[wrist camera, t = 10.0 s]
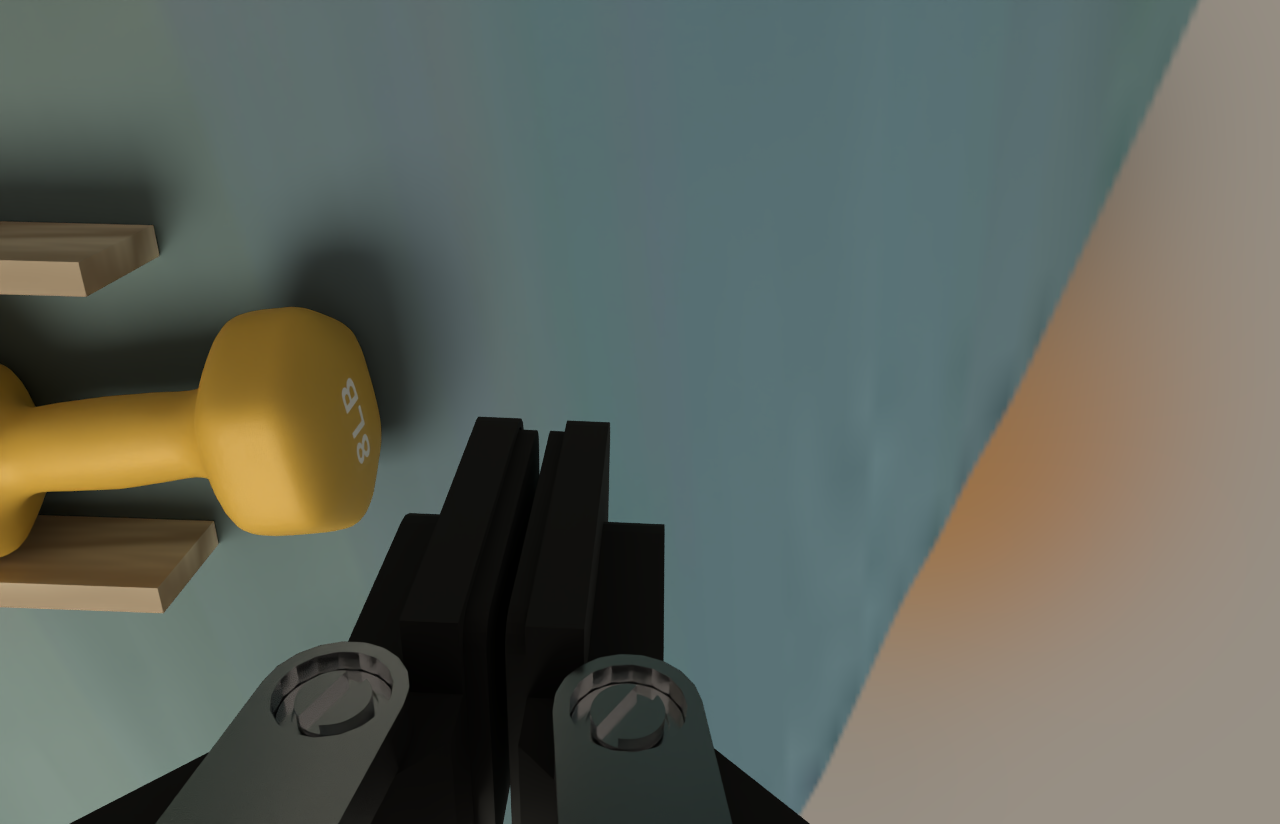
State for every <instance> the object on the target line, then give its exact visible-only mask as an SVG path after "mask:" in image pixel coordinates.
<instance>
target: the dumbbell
mask: <svg viewBox="0 0 1280 824" xmlns="http://www.w3.org/2000/svg"><path fill="white" fill-rule="evenodd" d="M380 448H381V422H380V415H379V410H378V405H377V401H376V397H375V393H374V389H373V386H372V382H371V378H370V375H369V371H368V368H367V365H366V361H365V358H364V355H363V352H362V349H361V347H360V345H359V343H358V341H357V339H356V337H355V335H354V334H353V332H352V331H351V330H350V329H349V328H348V327H347V326H345V325H344V324H343V323H341V322H339V321H338V320H336V319H333V318H331V317H329V316H326V315H324V314H321V313H319V312H316V311H313V310H310V309H307V308H301V307H283V308H272V309H263V310H257V311H251V312H247V313H244V314H241V315H238V316H236V317H234V318H233V319H231V320H229V321H228V322H227V323H226V324H225V325H224V326H223V327H222V329H221V330H220V332H219V333H218V335H217V336H216V338H215V340H214V342H213V344H212V347H211V349H210V352H209V354H208V357H207V360H206V363H205V366H204V369H203V372H202V376H201V380H200V384H199V388H198V389H194V390H190V391H178V392H154V393H141V394H129V395H116V396H105V397H97V398H90V399H83V400H75V401H68V402H61V403H55V404H49V405H44V406H39V407H35V405H34V403H33V401H32V399H31V397H30V395H29V393H28V391H27V390H26V388H25V386H24V385H23V383H22V382H21V381H20V379H19V378H18V377H17V376H16V375H15V374H14V373H13V372H12V370H10V369H9V368H7V367H6V366H4V365H2V364H0V557H3V556H6V555H8V554H10V553H11V552H13V551H15V550H17V549H18V548H19V547H20V546H21V544H22V543H23V542H24V541H25V539H26V538H27V537H28V535H29V533H30V531H31V529H32V527H33V525H34V522H35V520H36V518H37V516H38V513H39V510H40V508H41V505H42V503H43V500H44V497H45V495H46V492H51V491H82V490H108V489H123V488H131V487H137V486H144V485H150V484H156V483H162V482H168V481H174V480H179V479H185V478H193V477H203V478H208V479H209V481H210V484H211V486H212V488H213V491H214V493H215V495H216V497H217V499H218V501H219V502H220V504H221V506H222V507H223V509H224V511H225V513H226V514H227V515H228V516H229V517H230V519H231V520H232V521H233V522H234V523H235V524H236V525H237V526H238V527H239V528H241V529H242V530H244V531H247V532H250V533H252V534H257V535H268V536H284V535H300V534H312V533H322V532H330V531H336V530H341V529H345V528H348V527H351V526H353V525H354V524H356V523H357V522H359V521H360V520H361V519H362V517H363V516H364V515H365V513H366V512H367V509H368V507H369V504H370V502H371V499H372V496H373V492H374V487H375V481H376V475H377V469H378V462H379V456H380Z"/></svg>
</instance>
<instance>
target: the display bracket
mask: <svg viewBox="0 0 1280 824" xmlns="http://www.w3.org/2000/svg"><path fill="white" fill-rule="evenodd" d="M158 256H159V251H158V246H157V241H156V236H155V231H154V226H153V225H123V224H84V223H45V222H7V221H0V294H10V295H46V296H82V297H87V296H89V295H90V294H92V293H94V292H96V291H98V290H99V289H101V288H103V287H105V286H106V285H108V284H110V283H112V282H114V281H115V280H117V279H119V278H121V277H123V276H124V275H126V274H128V273H130V272H132V271H133V270H135V269H137V268H139V267H141V266H142V265H144V264H146V263H148V262H150V261H151V260H153V259H155V258H157V257H158ZM217 545H218V539H217V534H216V529H215V524H214V521H198V520H169V519H140V518H111V517H82V516H53V515H38V516H37V518H36V520H35V522H34V525H33V527H32V529H31V531H30V533H29V535H28V537H27V538H26V539H25V541H24V542H23V543H22V544H21V546H20V547H19V548H18V549H17V550H15V551H13V552H11V553H10V554H8V555H6V556H3V557H0V607H12V608H39V609H66V610H93V611H120V612H146V613H164V612H165V611H166V609H167V608H168V607H169V606H170V604H171V603H172V602H173V601H174V599H175V598H176V597H177V596H178V594H179V593H180V592H181V591H182V589H183V588H184V587H185V585H186V584H187V583H188V582H189V580H190V579H191V578H192V577H193V575H194V574H195V573H196V572H197V570H198V569H199V568H200V567H201V565H202V564H203V563H204V562H205V560H206V559H207V558H208V557H209V555H210V554H211V553H212V552H213V550H214V549H215V548H216V547H217Z"/></svg>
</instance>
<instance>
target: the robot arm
mask: <svg viewBox="0 0 1280 824" xmlns="http://www.w3.org/2000/svg"><path fill="white" fill-rule="evenodd" d="M609 457H610V422H587V421H567V424H566V428H565V432H563V431H550V433H549V437H548V441H547V446H546V450H545V454H544V458H543V463H542V467H541V471H540V475H539V436H538V431H537V430H524V428H523V421H522V419H519V418H496V417H478V418H477V420H476V422H475V425H474V427H473V430H472V433H471V435H470V438H469V440H468V443H467V446H466V448H465V451H464V453H463V456H462V458H461V461H460V464H459V466H458V469H457V471H456V474H455V477H454V479H453V482H452V484H451V487H450V490H449V492H448V495H447V497H446V500H445V503H444V505H443V508H442V510H441V513H440V514H417V513H409V514H407V515H405V517H404V518H403V520H402V522H401V524H400V526H399V528H398V531H397V533H396V535H395V537H394V540H393V542H392V544H391V546H390V549H389V551H388V553H387V555H386V557H385V560H384V562H383V564H382V566H381V569H380V571H379V573H378V575H377V578H376V580H375V582H374V584H373V587H372V589H371V591H370V593H369V596H368V598H367V600H366V602H365V605H364V607H363V609H362V611H361V614H360V616H359V618H358V620H357V623H356V625H355V627H354V629H353V632H352V634H351V636H350V638H349V641H348V642H337V643H331V644H325V645H319V646H317V647H314V648H311V649H308V650H306V651H303V652H300V653H298V654H296V655H294V656H293V657H291V658H289V659H288V660H286V661H285V662H283V663H281V664H280V665H278V666H277V667H276V668H275V669H274V670H273V671H272V672H271V673H270V674H269V675H268V676H267V677H266V678H265V679H264V680H263V681H262V683H261V684H260V685H259V687H258V688H257V689H256V691H255V692H254V693H253V695H252V696H251V697H250V699H249V700H248V701H247V703H246V704H245V705H244V707H243V708H242V709H241V711H240V712H239V713H238V715H237V716H236V717H235V719H234V720H233V721H232V723H231V724H230V725H229V726H228V728H227V729H226V730H225V732H224V733H223V734H222V736H221V737H220V738H219V740H218V741H217V742H216V744H215V745H214V746H213V748H212V749H211V750H210V752H208V753H206V754H204V755H202V756H201V757H199V758H197V759H195V760H193V761H191V762H189V763H187V764H185V765H183V766H181V767H179V768H177V769H175V770H173V771H171V772H169V773H167V774H165V775H164V776H162V777H160V778H158V779H156V780H154V781H152V782H150V783H148V784H146V785H144V786H142V787H140V788H138V789H136V790H134V791H132V792H130V793H128V794H127V795H125V796H123V797H121V798H119V799H117V800H115V801H113V802H111V803H109V804H107V805H105V806H103V807H101V808H99V809H97V810H95V811H93V812H91V813H90V814H88V815H86V816H84V817H82V818H80V819H78V820H76V821H74V822H72V823H70V824H503V821H504V815H505V810H506V804H507V799H508V794H509V788H511V813H512V824H809V823H808V822H807V821H806V820H804V819H803V818H802V817H800V816H799V815H798V814H797V813H795V812H794V811H793V810H792V809H790V808H789V807H788V806H787V805H785V804H784V803H783V802H781V801H780V800H779V799H778V798H776V797H775V796H774V795H773V794H771V793H770V792H769V791H768V790H766V789H765V788H764V787H762V786H761V785H760V784H759V783H757V782H756V781H755V780H754V779H752V778H751V777H750V776H749V775H747V774H746V773H745V772H743V771H742V770H741V769H740V768H738V767H737V766H736V765H735V764H733V763H732V762H731V761H730V760H728V759H727V758H726V757H724V756H723V755H722V754H721V753H719V752H718V751H717V750H716V749H714V747H713V743H712V739H711V735H710V731H709V727H708V722H707V718H706V714H705V710H704V706H703V702H702V699H701V697H700V695H699V693H698V691H697V689H696V687H695V685H694V684H693V683H692V682H691V681H690V680H689V679H688V677H687V676H686V675H685V674H684V673H683V672H682V671H680V670H678V669H677V668H675V667H673V666H671V665H669V664H668V663H666V662H664V661H663V652H664V534H665V533H664V524H641V523H619V522H608V501H609Z"/></svg>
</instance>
